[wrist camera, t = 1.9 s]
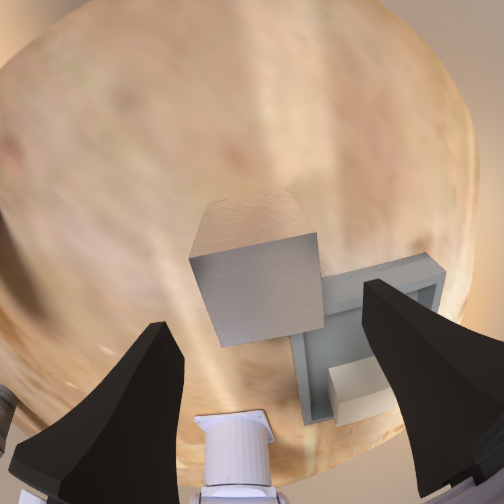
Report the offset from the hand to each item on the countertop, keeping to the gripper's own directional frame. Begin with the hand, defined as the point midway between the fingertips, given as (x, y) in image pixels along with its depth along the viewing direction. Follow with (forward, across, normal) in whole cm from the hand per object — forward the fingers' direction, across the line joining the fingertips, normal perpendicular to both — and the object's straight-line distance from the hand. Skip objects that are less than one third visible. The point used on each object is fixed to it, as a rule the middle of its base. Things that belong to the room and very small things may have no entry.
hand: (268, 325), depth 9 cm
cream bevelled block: (+8, -7, +17) cm, 20 cm away
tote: (+9, -7, +13) cm, 17 cm away
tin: (+9, 0, 0) cm, 9 cm away
